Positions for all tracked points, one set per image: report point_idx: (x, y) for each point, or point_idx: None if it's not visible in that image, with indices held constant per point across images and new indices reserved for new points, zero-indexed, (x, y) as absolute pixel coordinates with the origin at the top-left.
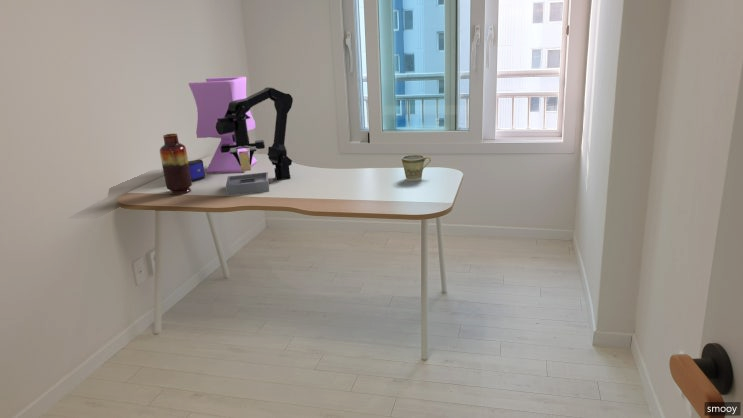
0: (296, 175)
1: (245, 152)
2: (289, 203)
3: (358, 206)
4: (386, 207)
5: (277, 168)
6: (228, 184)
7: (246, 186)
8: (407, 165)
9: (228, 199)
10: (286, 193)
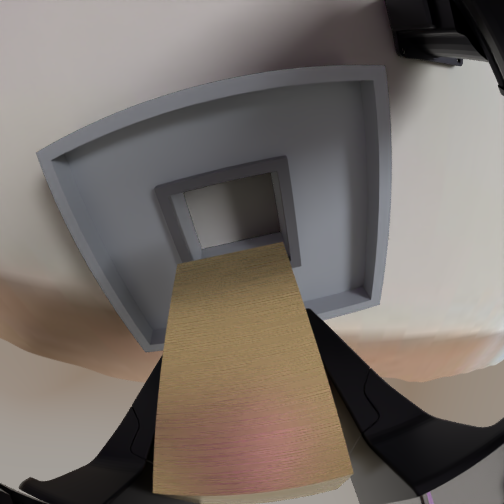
0: None
1: (296, 495)
2: (392, 367)
3: (477, 357)
4: (494, 353)
5: (453, 36)
6: (130, 305)
7: None
8: None
9: None
10: (412, 300)
